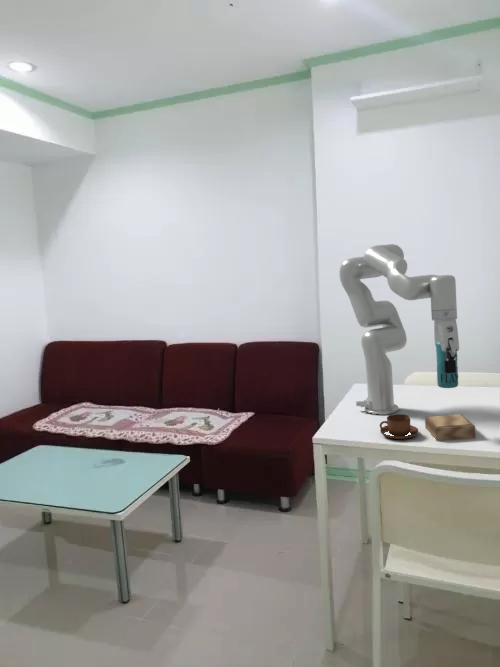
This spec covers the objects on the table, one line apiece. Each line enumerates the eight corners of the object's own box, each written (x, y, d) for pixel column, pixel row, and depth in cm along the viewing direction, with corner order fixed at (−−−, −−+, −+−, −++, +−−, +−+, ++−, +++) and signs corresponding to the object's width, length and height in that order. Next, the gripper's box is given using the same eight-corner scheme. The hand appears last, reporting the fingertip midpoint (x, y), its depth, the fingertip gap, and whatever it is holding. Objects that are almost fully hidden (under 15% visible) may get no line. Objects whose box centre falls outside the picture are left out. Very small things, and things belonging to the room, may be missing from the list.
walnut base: (436, 440, 161) (435, 427, 161) (425, 428, 173) (424, 416, 172) (475, 438, 160) (474, 424, 160) (461, 425, 172) (461, 413, 172)
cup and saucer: (393, 444, 162) (392, 425, 161) (373, 433, 173) (372, 416, 173) (426, 437, 165) (425, 419, 164) (404, 427, 177) (403, 410, 176)
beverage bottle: (437, 393, 162) (434, 330, 160) (436, 387, 169) (433, 327, 166) (460, 392, 160) (457, 329, 158) (458, 387, 167) (455, 326, 164)
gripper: (466, 316, 153) (468, 375, 155) (447, 311, 170) (449, 364, 172) (440, 318, 153) (443, 377, 156) (424, 313, 170) (427, 366, 173)
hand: (446, 369), depth 164 cm, fingers closed on beverage bottle, 6 cm apart
